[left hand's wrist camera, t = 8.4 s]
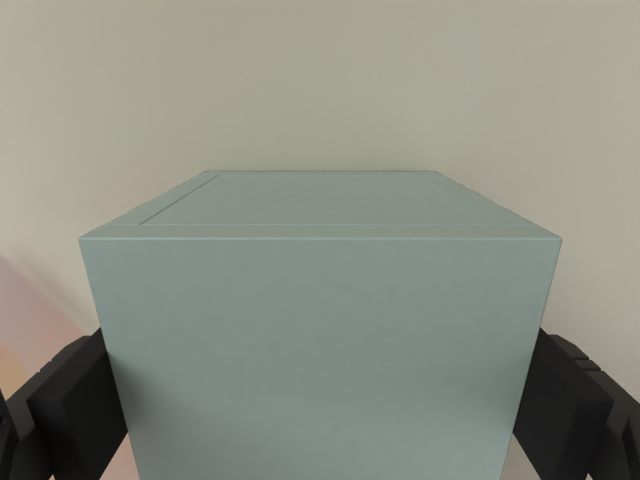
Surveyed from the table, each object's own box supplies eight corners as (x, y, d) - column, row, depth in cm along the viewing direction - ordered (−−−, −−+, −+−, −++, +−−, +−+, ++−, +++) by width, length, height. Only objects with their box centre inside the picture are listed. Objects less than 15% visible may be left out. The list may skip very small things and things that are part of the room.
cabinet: (399, 485, 23) (444, 696, 15) (240, 485, 23) (195, 696, 15) (436, 171, 16) (564, 238, 8) (204, 170, 16) (76, 237, 8)
